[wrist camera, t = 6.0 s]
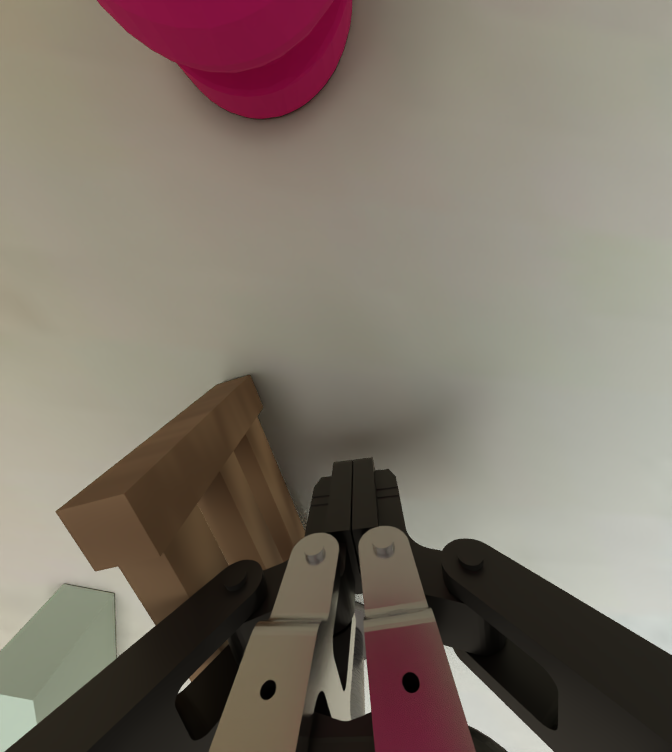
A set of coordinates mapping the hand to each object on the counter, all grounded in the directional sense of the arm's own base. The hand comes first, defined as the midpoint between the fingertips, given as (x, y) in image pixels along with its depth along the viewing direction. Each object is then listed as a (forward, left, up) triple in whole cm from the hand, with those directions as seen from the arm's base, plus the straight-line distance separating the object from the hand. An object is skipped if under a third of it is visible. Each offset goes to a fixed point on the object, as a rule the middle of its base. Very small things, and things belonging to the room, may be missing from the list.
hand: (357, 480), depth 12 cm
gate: (+4, -3, -3) cm, 5 cm away
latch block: (+16, -13, -3) cm, 21 cm away
